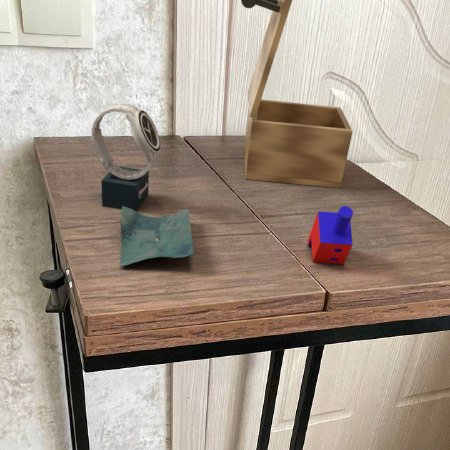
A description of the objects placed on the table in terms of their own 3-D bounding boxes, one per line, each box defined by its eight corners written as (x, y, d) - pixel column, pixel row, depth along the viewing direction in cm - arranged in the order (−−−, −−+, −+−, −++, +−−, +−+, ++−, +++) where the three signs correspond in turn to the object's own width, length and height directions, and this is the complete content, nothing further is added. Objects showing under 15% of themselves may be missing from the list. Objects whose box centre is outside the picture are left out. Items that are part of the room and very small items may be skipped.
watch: (152, 213, 76) (154, 118, 69) (88, 203, 77) (83, 108, 70) (163, 197, 80) (166, 105, 73) (102, 187, 81) (99, 96, 74)
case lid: (286, -17, 83) (245, -32, 82) (294, -5, 74) (247, -22, 73) (252, 95, 92) (214, 83, 91) (255, 118, 83) (213, 104, 82)
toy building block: (309, 270, 72) (326, 225, 64) (307, 240, 73) (324, 193, 66) (339, 272, 72) (360, 228, 65) (337, 242, 74) (357, 195, 66)
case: (330, 160, 98) (340, 107, 93) (340, 188, 89) (352, 131, 84) (243, 152, 97) (249, 98, 92) (245, 179, 88) (251, 121, 83)
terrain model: (193, 270, 66) (194, 253, 64) (118, 270, 65) (117, 253, 64) (188, 219, 75) (188, 204, 74) (122, 219, 75) (121, 204, 73)
